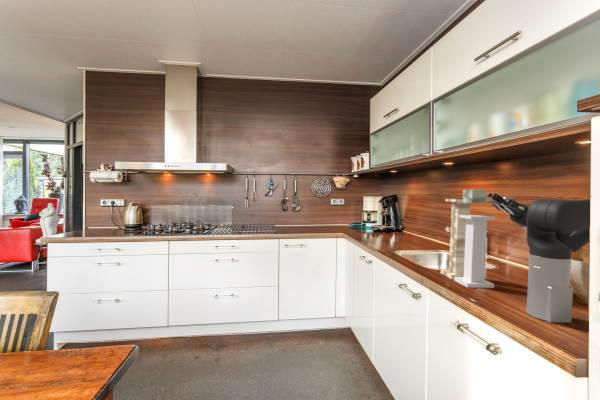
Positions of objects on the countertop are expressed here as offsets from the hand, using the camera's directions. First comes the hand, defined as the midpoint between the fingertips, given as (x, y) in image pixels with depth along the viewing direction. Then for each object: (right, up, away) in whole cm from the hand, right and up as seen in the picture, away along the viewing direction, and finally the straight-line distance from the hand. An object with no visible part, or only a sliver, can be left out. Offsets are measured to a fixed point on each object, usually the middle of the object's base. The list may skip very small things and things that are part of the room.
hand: (490, 195), depth 117 cm
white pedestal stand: (-6, -34, +1) cm, 34 cm away
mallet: (0, -3, 0) cm, 3 cm away
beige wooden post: (-7, -33, +12) cm, 36 cm away
